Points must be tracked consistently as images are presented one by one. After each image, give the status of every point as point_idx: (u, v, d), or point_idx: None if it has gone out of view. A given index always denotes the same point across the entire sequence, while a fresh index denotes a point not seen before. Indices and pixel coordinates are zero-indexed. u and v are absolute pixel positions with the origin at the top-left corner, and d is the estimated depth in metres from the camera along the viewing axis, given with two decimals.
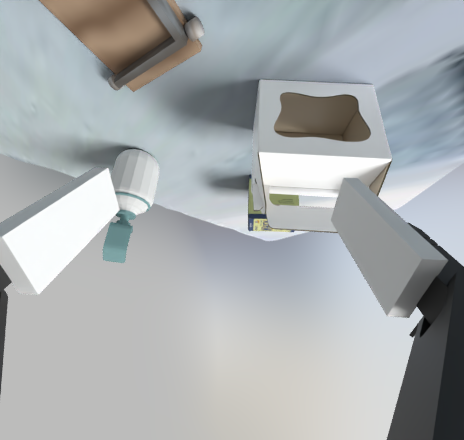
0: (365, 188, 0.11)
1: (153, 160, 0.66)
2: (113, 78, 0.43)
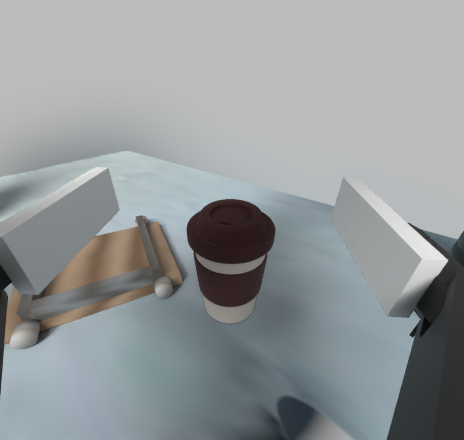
0: (365, 188, 0.11)
1: None
2: None
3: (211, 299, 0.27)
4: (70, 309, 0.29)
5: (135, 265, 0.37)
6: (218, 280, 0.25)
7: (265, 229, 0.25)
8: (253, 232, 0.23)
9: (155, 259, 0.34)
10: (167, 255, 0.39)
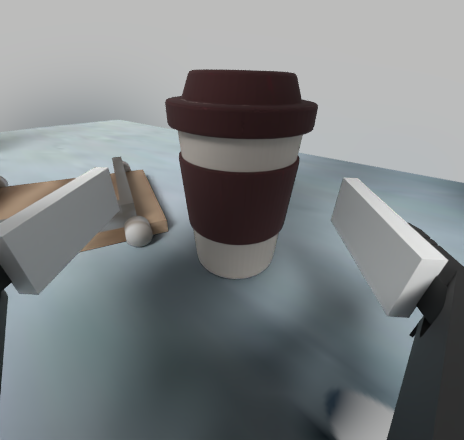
0: (365, 188, 0.11)
1: None
2: None
3: (207, 232, 0.17)
4: None
5: None
6: (218, 186, 0.14)
7: None
8: (283, 85, 0.12)
9: (128, 194, 0.24)
10: (150, 199, 0.29)
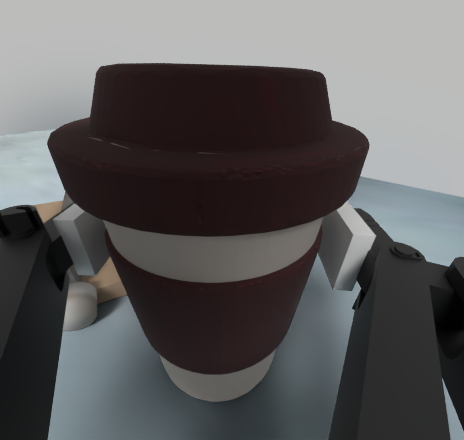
0: None
1: None
2: None
3: (160, 351, 0.10)
4: None
5: None
6: (166, 303, 0.07)
7: (333, 125, 0.07)
8: (302, 100, 0.05)
9: None
10: None
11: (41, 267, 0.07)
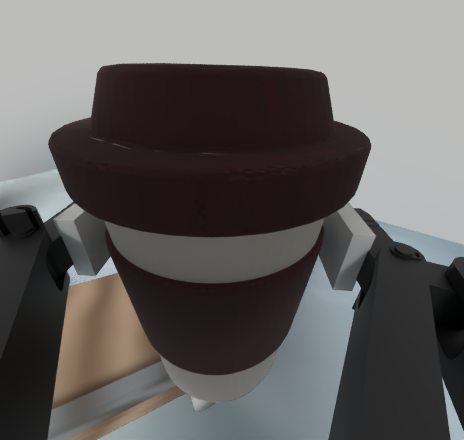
0: None
1: None
2: None
3: (161, 352, 0.10)
4: None
5: None
6: (167, 304, 0.07)
7: (334, 125, 0.07)
8: (304, 100, 0.05)
9: None
10: None
11: (41, 267, 0.07)
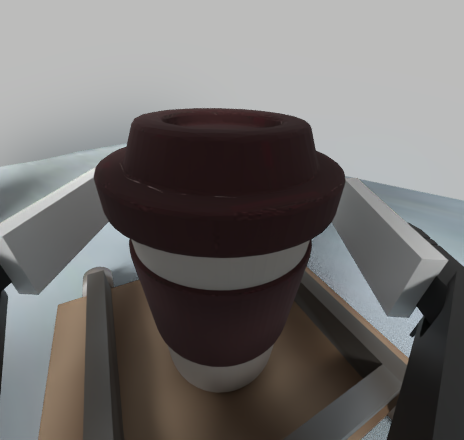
0: (365, 188, 0.11)
1: None
2: (108, 278, 0.21)
3: (174, 347, 0.11)
4: None
5: (301, 342, 0.17)
6: (184, 306, 0.09)
7: (318, 163, 0.09)
8: (292, 154, 0.07)
9: (376, 340, 0.14)
10: None
11: None
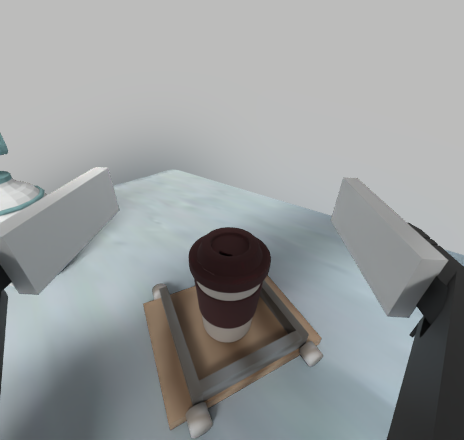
0: (365, 188, 0.11)
1: None
2: None
3: (210, 321, 0.29)
4: (231, 385, 0.27)
5: (265, 322, 0.35)
6: (217, 305, 0.27)
7: (261, 259, 0.27)
8: (250, 263, 0.25)
9: (296, 321, 0.32)
10: (291, 309, 0.37)
11: None
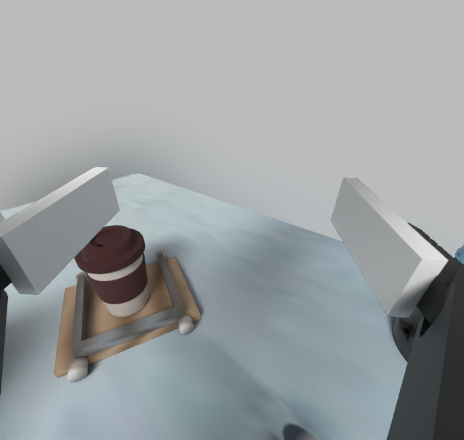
0: (365, 188, 0.11)
1: None
2: (87, 277, 0.47)
3: (100, 298, 0.38)
4: (111, 346, 0.36)
5: (160, 302, 0.43)
6: (97, 285, 0.35)
7: (131, 249, 0.35)
8: (114, 252, 0.33)
9: (178, 299, 0.41)
10: (186, 292, 0.45)
11: None
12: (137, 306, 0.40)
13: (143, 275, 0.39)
